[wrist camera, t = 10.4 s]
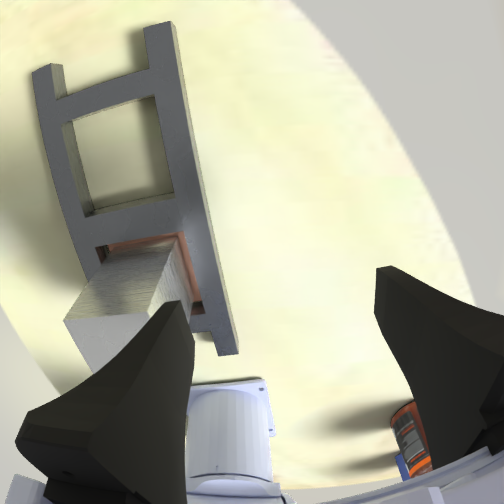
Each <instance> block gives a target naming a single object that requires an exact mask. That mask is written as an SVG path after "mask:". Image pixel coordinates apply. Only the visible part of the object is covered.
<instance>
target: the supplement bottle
mask: <svg viewBox="0 0 504 504" xmlns="http://www.w3.org/2000/svg"><path fill="white" fill-rule="evenodd" d="M391 428H392V431H393V433H394V436H395V438H396V441H397V444H398V446H399V449H400V451H401V454H402V457H403V459H404V462H405V464H406V467H407V470H408V473H409V475H410V478H411V479H412V478H415V477H417V476H420V475H423V474H425V473H428V472H431V471H433V469H432V463H431V458H430V453H429V448H428V444H427V440H426V436H425V432H424V428H423V425H422V421H421V418H420V415H419V412H418V409H417V406H416V403H415V401H414V402H412V403H410V404H408V405H406V406H404V407H403V408H401V409H400V410H399V411H398V412H397V413H396V414H395V415H394V417H393V418H392V420H391Z"/></svg>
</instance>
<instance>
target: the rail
mask: <svg viewBox="0 0 504 504" xmlns="http://www.w3.org/2000/svg"><path fill="white" fill-rule="evenodd" d="M143 29H144V35H145V42H146V49H147V55H148V61H149V67H150V68H149V69H146V70H142V71H139V72H135V73H132V74H128V75H125V76H122V77H119V78H116V79H113V80H110V81H107V82H104V83H101V84H98V85H95V86H93V87H90V88H87V89H84V90H82V91H79V92H77V93H74V94H72V95H69V96H67V91H66V85H65V79H64V72H63V65H61V64H53V63H50V64H48V65H46V66H44V67H42V68H40V69H38V70H36V71H34V72H32V78H33V85H34V92H35V98H36V104H37V110H38V115H39V121H40V126H41V131H42V135H43V140H44V145H45V149H46V153H47V157H48V161H49V165H50V169H51V173H52V177H53V180H54V184H55V188H56V191H57V194H58V198H59V201H60V204H61V208H62V211H63V214H64V217H65V220H66V223H67V226H68V229H69V232H70V235H71V238H72V241H73V243H74V246H75V249H76V252H77V254H78V257H79V260H80V262H81V265H82V267H83V270H84V272H85V275H86V277H87V280H88V282H89V281H90V279H91V278H92V277H93V275H94V274H95V272H96V271H97V270H98V268H99V267H100V266H101V264H102V263H103V261H104V260H105V259H106V257H107V256H108V255H109V254H108V251H107V248H106V245H108V244H114V243H119V242H124V241H130V240H135V239H141V238H146V237H152V236H157V235H163V234H168V233H174V232H180V231H184V235H185V239H186V243H187V247H188V250H189V254H190V258H191V262H192V266H193V270H194V273H195V277H196V281H197V284H198V288H199V292H200V295H201V299H202V302H198V303H193V305H192V310H191V315H190V320H189V327H190V330H191V332H192V333H198V332H207V331H211V334H212V337H213V340H214V344H215V347H216V350H217V353H218V356H226V355H235V354H239V350H238V337H237V333H236V329H235V324H234V320H233V316H232V312H231V307H230V303H229V299H228V294H227V290H226V286H225V281H224V277H223V272H222V268H221V263H220V259H219V254H218V250H217V245H216V240H215V236H214V231H213V226H212V221H211V217H210V212H209V207H208V202H207V197H206V193H205V188H204V183H203V178H202V173H201V168H200V162H199V157H198V152H197V147H196V142H195V136H194V131H193V126H192V120H191V115H190V109H189V104H188V98H187V93H186V87H185V81H184V75H183V70H182V64H181V58H180V52H179V46H178V39H177V33H176V27H175V26H174V24H173V23H172V22H171V21H167V22H163V23H159V24H156V25H152V26H149V27H145V28H143ZM153 96H155V102H156V107H157V112H158V117H159V123H160V128H161V133H162V138H163V143H164V147H165V152H166V157H167V162H168V166H169V171H170V175H171V180H172V184H173V189H174V193H169V194H164V195H159V196H154V197H149V198H144V199H140V200H135V201H130V202H126V203H121V204H117V205H113V206H108V207H104V208H100V209H96V210H94V207H93V204H92V200H91V197H90V193H89V190H88V186H87V183H86V179H85V175H84V171H83V167H82V163H81V159H80V155H79V151H78V147H77V142H76V138H75V133H74V129H73V124H72V122H73V121H76V120H79V119H82V118H84V117H87V116H90V115H93V114H96V113H99V112H102V111H105V110H108V109H111V108H114V107H118V106H121V105H124V104H128V103H131V102H135V101H138V100H142V99H145V98H149V97H153Z"/></svg>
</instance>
